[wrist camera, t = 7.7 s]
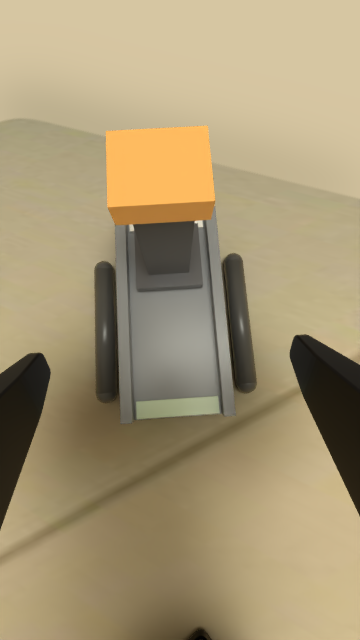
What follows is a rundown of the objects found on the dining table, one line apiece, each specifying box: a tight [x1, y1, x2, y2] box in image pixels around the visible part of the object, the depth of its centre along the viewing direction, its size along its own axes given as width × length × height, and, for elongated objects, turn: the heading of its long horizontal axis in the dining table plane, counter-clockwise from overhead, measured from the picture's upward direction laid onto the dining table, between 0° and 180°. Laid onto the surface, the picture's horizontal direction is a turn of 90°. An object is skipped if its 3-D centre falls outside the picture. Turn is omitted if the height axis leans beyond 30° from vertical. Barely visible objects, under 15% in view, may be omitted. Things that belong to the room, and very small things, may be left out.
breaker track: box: [94, 206, 257, 424], centre depth 21 cm, size 16×13×3 cm
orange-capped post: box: [106, 126, 215, 292], centre depth 16 cm, size 5×5×10 cm
